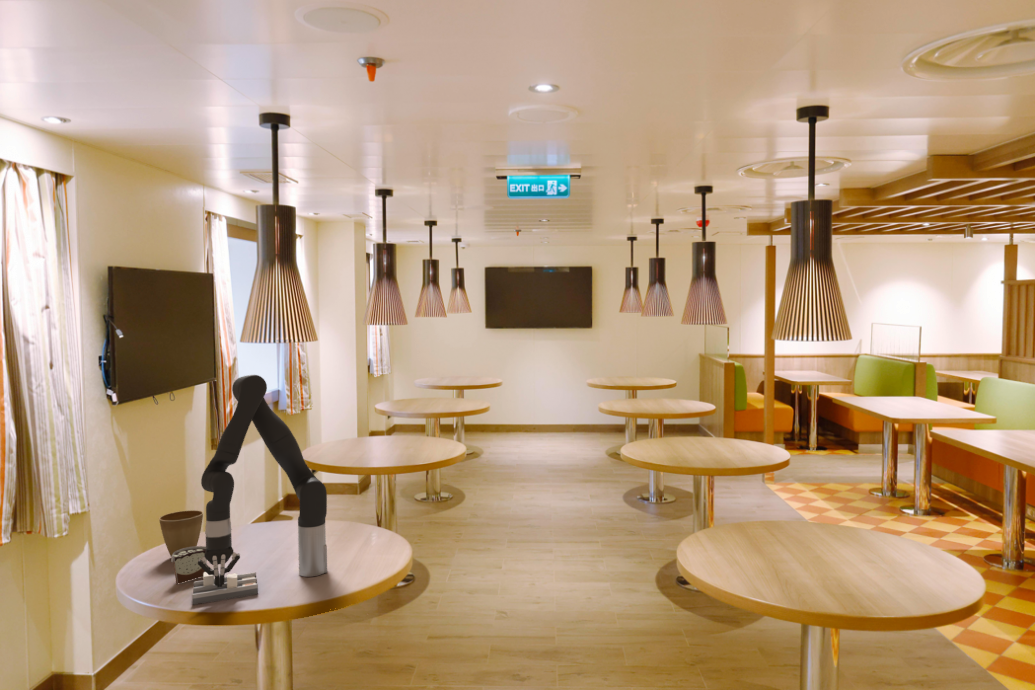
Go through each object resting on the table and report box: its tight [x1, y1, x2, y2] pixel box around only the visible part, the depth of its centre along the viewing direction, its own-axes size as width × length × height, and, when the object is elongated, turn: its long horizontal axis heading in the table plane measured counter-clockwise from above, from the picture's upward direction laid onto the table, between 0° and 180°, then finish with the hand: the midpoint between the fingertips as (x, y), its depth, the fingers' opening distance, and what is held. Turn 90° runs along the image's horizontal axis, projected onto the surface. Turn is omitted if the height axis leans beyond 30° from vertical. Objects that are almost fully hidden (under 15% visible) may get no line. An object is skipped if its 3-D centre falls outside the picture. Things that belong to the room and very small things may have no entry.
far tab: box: [202, 572, 215, 586], centre depth 210 cm, size 3×4×4 cm
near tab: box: [226, 572, 238, 589], centre depth 208 cm, size 3×4×4 cm
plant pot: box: [158, 509, 204, 559], centre depth 245 cm, size 15×15×16 cm
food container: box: [170, 545, 208, 585], centre depth 223 cm, size 12×6×10 cm, turn 141°
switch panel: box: [191, 572, 259, 605], centre depth 210 cm, size 19×12×3 cm, turn 115°
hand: (219, 586), depth 206 cm, fingers closed
